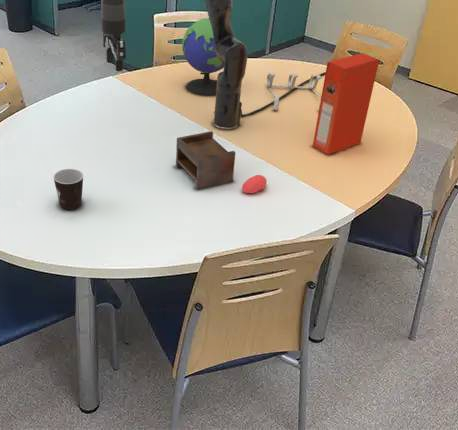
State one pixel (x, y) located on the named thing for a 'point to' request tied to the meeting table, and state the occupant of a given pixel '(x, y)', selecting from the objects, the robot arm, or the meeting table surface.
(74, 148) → the meeting table surface
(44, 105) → the meeting table surface
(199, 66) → the globe
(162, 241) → the meeting table surface
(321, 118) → the file binder
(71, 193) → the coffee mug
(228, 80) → the robot arm
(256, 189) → the red rounded oblong piece
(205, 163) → the rack
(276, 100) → the over door rack
